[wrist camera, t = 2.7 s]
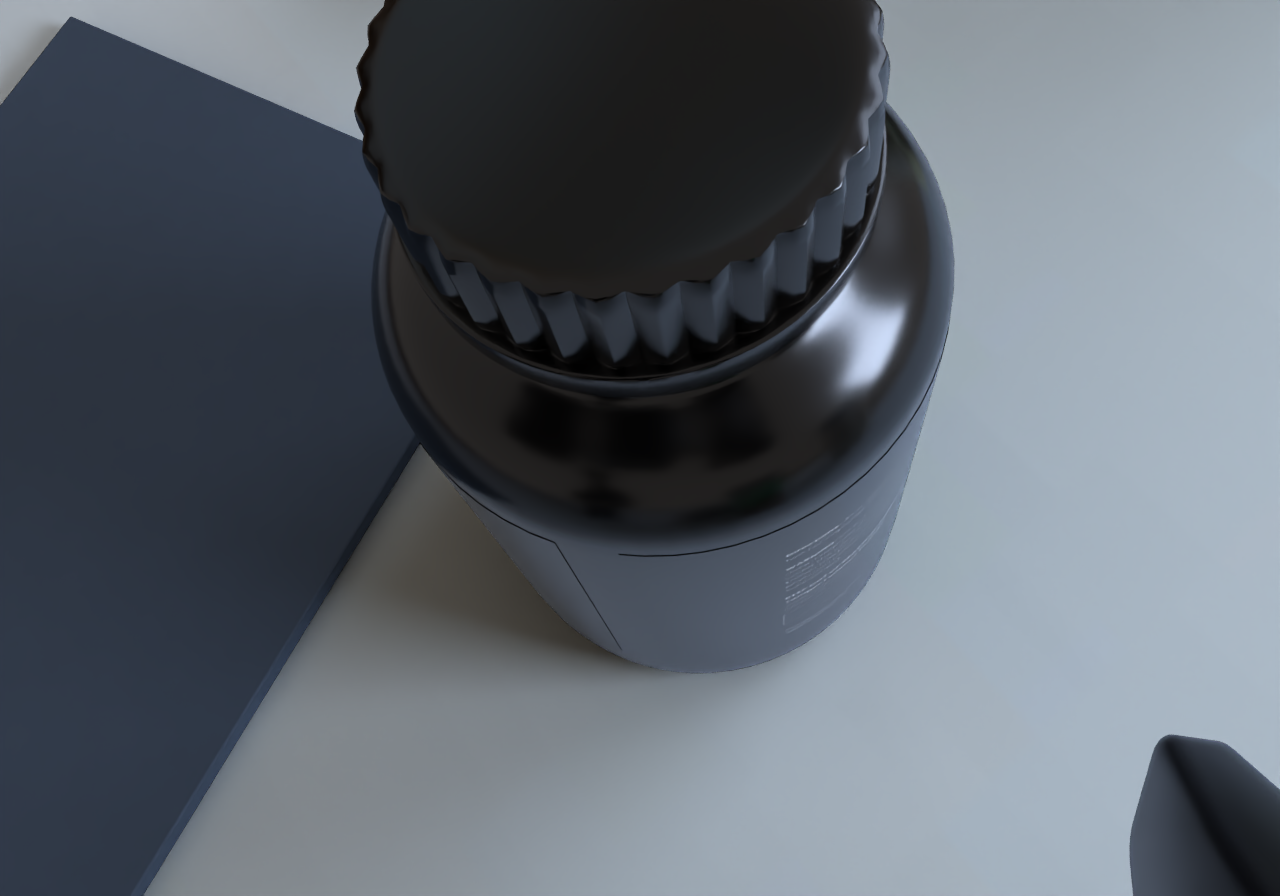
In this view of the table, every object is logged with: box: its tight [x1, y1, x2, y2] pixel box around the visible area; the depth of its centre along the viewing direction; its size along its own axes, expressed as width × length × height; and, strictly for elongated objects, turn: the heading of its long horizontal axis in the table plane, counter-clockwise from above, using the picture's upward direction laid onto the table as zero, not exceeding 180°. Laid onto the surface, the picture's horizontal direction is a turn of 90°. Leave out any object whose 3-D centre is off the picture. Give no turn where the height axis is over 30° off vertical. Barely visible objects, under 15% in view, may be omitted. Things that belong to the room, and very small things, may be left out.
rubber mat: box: [0, 17, 420, 896], centre depth 23 cm, size 20×12×1 cm, turn 152°
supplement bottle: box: [354, 0, 954, 673], centre depth 16 cm, size 7×7×12 cm
